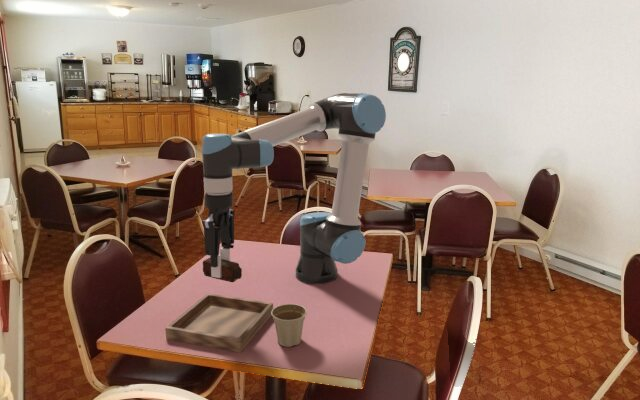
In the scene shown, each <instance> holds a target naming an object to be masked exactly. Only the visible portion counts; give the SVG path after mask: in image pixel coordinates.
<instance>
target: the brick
mask: <svg viewBox="0 0 640 400" xmlns="http://www.w3.org/2000/svg"><path fill="white" fill-rule="evenodd" d="M202 272H203V274H204V276H205V277H208V278H212V279H216V280H220V281H225V282H229V283H235V282H236V281H237V280H241V279H242V276H243V275H242V274H243V273H242V272H243V269H242V267H240V264H239V262H235V261H231V260H230V261H227V260H222V259H221V276H222V277H221V278H216V277H211V257H208V258H207V259H204V260H203V261H202Z"/></svg>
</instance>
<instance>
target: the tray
mask: <svg viewBox="0 0 640 400" xmlns="http://www.w3.org/2000/svg"><path fill="white" fill-rule="evenodd" d="M273 308H274V302H269V301H268V302H267V301H262V300H255V299H249V298H241V297H235V296H228V295H221V294H214V293H209V292H208V293H206V294H205V295H204V296H202V297H200V299H199V300H197V301H196V302H195V303H194V304H193V305H192V306H190V307H189V308H188V309H187V310H185V311H184V312H183V313H182V314H181V315H179V316H178V317H176V318H175V319H174V320H173V321H171V322H170V323H169V324H168V325H167V326H166V327H165V329H164V330H165V338H166V340H172V341H176V342H182V343H186V344H187V343H188V344H192V345H198V346H204V347H208V348H214V349H220V350H225V351H229V352H235V353H242V351H243V350H244V349H245V348H246V347H247V346H248V344H249V343H250V342H251V340H253V338H254V337H255V336H256V335H257V333H258V332H259V331H260V330H261V329H262V327H264V325H265V324H266V323H267V322H268V320H269V319H270V318H271V317H272V315H271V311H272V310H273Z"/></svg>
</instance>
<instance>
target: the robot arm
mask: <svg viewBox="0 0 640 400" xmlns="http://www.w3.org/2000/svg"><path fill="white" fill-rule="evenodd" d="M386 114H387V113H386V108H385V105H384V104H383V102H382V100H381V99H380V98H379V97H377V96H376V95H374V94H370V93H363V92H361V93H346V92H345V93H337V94H333V95H331V96H328V97H326V98H323V99H320V100H318V101H315V102H312V103H310V104H309V106H308V108H304V109H302V110H298V111H296V112H293V113H290V114H289V115H285V116H283V117H279V118H277V119H274V120H271V121H268V122H266V123H262V124H260V125H257V126H255V127H251V128H248V129H246V130H243V131H241V132H238V133H234V134H228V133H207V134H205V135H204V136H203V137H202V143H201V144H202V145H201V146H202V147H201V154H202V155H201V156H202V166H203V167H202V171H203V188H204V189H203V191H204V195H203V200H204V201H203V202H204V206H205V208H206V209H208V215H207V219H203V220H202V227H203V236H204V238H203V240H204V242H203V243H204V254H205V255H206V256H210V257H211V277H210V278H212V277H216V278H221V277H222V276H221V259H222V260H227V261H231V249H234V247H235V245H234V244H235V212H236V211H235V209H231V208H232V207H233V206H234V195H233V192H232V191H233V190H234V189H233V188H234V186H233V183H234V182H233V170H238V169H250V168H263V167H268V166H271V165H272V163H273V162H274V157H275V154H274V153H275V151H274V147H276V146H279V145H281V144H284V143H286V142H289V141H291V140H294V139H297V138H299V137H302V136H304V135H306V134H307V135H308V134H310V133H312V132H315V131H317V132H323V131H326V130H330V129H332V130H333V129H338V136H339V138H340V140H341V147H340V155H339V162H338V167H337V175H336V181H335V188H334V192H333V193H334V194H333V199H332V200H333V201H332V207H331V212H326V211H325V212H324V211H322V212H321V211H317V212H310V213H306V214H303V215H302V216H301V217H300V221H299V229H300V230H299V232H300V233H299V235H300V236H299V239H300V240H299V241H300V243H299V244H300V246H299V248H300V252H299V253H300V254H299V255H300V256H299V259H298V261H297V264H296V267H295V278H296V279H297V280H298V281H301V282H303V283H307V284H312V285H313V284H317V285H318V284H319V285H320V284H327V283H330V282H332V281H335V280H336V279H337V278H338V267H337V263H336V262H338V263H341V264H343V265H345V264H351V263H353V262H355V261H357V259H358V258H360V257H361V256H362V254H363V252H364V250H365V248H366V242H367V241H366V237H365V236H364V234H363V232H361V227H362V221H360V219H359V211H360V210H359V209H360V203H361V199H362V198H361V197H362V191H363V186H364V185H363V184H364V178H365V171H366V166H367V159H368V153H369V145H370V144H371V143H372V142H374V141H375V138H376V133H377V132H380V131H381V129H382V128H384V126H385V123H386V119H387V115H386ZM220 245H221V246H220ZM220 247H221V248H220ZM210 257H209V258H210ZM216 278H215V279H216Z"/></svg>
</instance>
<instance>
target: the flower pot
mask: <svg viewBox="0 0 640 400" xmlns="http://www.w3.org/2000/svg"><path fill="white" fill-rule="evenodd" d="M307 313H308V310H307V309H306V307H305V306H303V305H301V304H296V303H284V304H280V305H277V306H275V307H273V310H272V311H271V317H272V320H273V321H274V326H275V331H276V338H277V342H278V344H279V345H280V346H282V347H286V348H290V347H291V348H292V347H293V346H299V344H300V343H301V341H302V335H303V329H304V328H303V327H304V321H305V319H306V316H307Z"/></svg>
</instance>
